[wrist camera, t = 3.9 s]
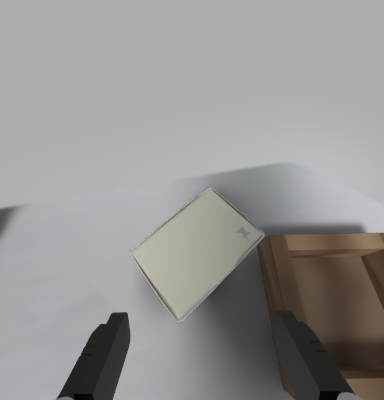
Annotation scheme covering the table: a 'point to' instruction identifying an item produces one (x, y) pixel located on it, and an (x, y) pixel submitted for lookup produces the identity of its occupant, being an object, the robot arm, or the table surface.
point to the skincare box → (195, 251)
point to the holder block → (332, 299)
